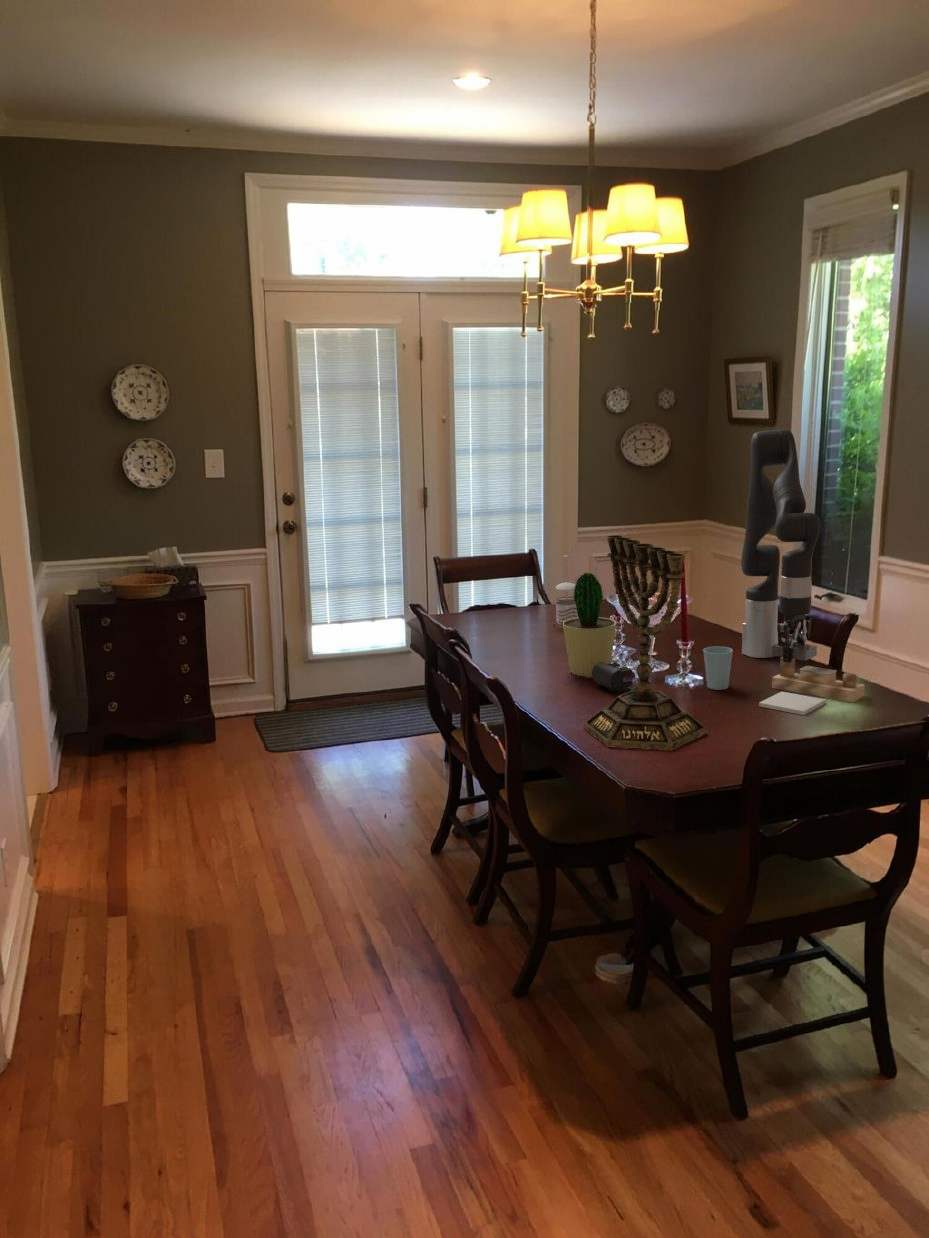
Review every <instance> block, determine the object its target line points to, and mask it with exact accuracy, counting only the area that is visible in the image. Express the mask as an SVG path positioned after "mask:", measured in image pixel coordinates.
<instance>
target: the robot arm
mask: <svg viewBox="0 0 929 1238" xmlns="http://www.w3.org/2000/svg"><path fill="white" fill-rule="evenodd" d="M797 451H798V450H797V443H796V440H795V437H794V434H793V432H792V431H791V430H790V429H785V428H784V429H783V428H782V429H780V428H779V429H774V430H772V429H770V430H761V431H757V432H755V433H753V434H752V437H751V440H750V459H749V460H750V461H749V462H750V463H749V465H750V466H749V467H750V470H749V471H750V472H749V473H750V474H749V485H748V496H747V502H746V516H745V534H744V541H743V547H742V551H741V560H740V563H741V565H740V566H741V572H742V573H743V574H744V575H745V576H747V577H766V578H765V580H763V581H762V582H760V583H759V584H756V585H753V586H750V587H748V588H747V589H746V591H745V620H744V622H743V623H742V625H741V626H742V630H741V631H742V632H741V633H742V634H741V635H742V636H741V637H742V639H741V640H742V642H741V643H742V644H741V654H742V655H745V656H748V657H751V658H755V659H756V658H759V659H766V658H774V657H775V656H773V655H772V645H775V644H777V643H778V646H782V647H783V661H784V662H788V663H790V662H792V654H793V648H792V647H793V643H794V642H798V643H801V644H806V643H807V639H810V637H811V631H812V630H811V627H812V618H813V617H812V614H810V613H811V612H812V594H813V592H812V591H813V585H812V561H813V555H814V550H815V547H816V545H817V544H816V543H817V542H818V539H819V535H820V532H821V520H820V518H819V516H818V514H816V513H814V512H805V511H806V508H807V503H806V499H805V495H804V492H803V489H802V486H801V485H802V484H801V480H800V471H799V460H798V454H797V453H798V452H797ZM780 465H784V467H783V469H782V470H781V472H780V474H779V475H778V477H777V478H776V480H775V482H774V483H773V482H772V481H771V480H770V478H769V477H768V476H767V473H766V472H765V470H764V467H766V466H767V467H768V466H769V467H770V466H780ZM773 528H774V533H775V534H774V535H775V537H776V539H778V540H779V541H781V542H782V543H795V542H796V543H800V542H801V545H800V546H799V547H798V548H796V549H792V550H788V551H786V552H784V553H783V554H782V556H781V553H780V548H779V546H777V545H775V544H759V543H760V542H761V540H762V539H763V538H764V537H765V536H766V535H767V534H769V532H771V530H772V529H773ZM780 565H781V567H780ZM780 569H781V572H780ZM780 573H781V574H780ZM779 577H780V583H779ZM778 608H779V609H778ZM778 611H779V612H780V613H782V614H783V615H784V619H783V622H782V623H780V622H779V623H778V617H779V616H778V615H779V614H778V613H779V612H778ZM789 641H790V643H789Z"/></svg>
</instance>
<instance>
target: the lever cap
mask: <svg viewBox="0 0 929 1238" xmlns="http://www.w3.org/2000/svg"><path fill="white" fill-rule="evenodd" d="M789 643H790V640H789ZM792 648H793V654H792V659H795V660H799V661H808V660H810V659H812V658H814V657H816V656H817V650H818V646H817V645H815V644H814V645H813V644H807V643H805V644H801V643H798V642H796V641H794V643H793V647H792ZM772 655H773V656H774V657H780V658H781V657H783V647H782V646H778V642H777V644H775V645H772Z"/></svg>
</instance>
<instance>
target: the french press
mask: <svg viewBox="0 0 929 1238" xmlns="http://www.w3.org/2000/svg"><path fill="white" fill-rule="evenodd" d="M562 558H563V559H564V560H565V573H566V575H565V577H566V581H565V582H562V583H558V584H557V585H556V586H555V587H554V588H555V590H557V591H562V592H563V591H564V592H565V591H566V592H569V591H574V589H575V588H574V587H575V585H576V584H575V585H574V582H569V581H568V571H567V570H568V569H567V568H568V567H567V560H568V559H569V558H570V557H569V555H567V554H565V555H563V557H562ZM573 586H574V587H573ZM572 589H573V590H572ZM571 599H574V596H573V597H572V596H568V595H565V596H558V597H557V598H556V600H557V601H556V602H555V611H556V612H555V620H556V622H557V623H558V624H561V623H559V621H560V622H564V621H566V620H569V619H574V618H579V617H578V615H577V613H576V611H577V609H576V603H574V600H571ZM574 610H575V611H574ZM575 614H576V615H575ZM562 619H565V620H562ZM556 622H555V623H556Z"/></svg>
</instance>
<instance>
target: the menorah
mask: <svg viewBox="0 0 929 1238" xmlns="http://www.w3.org/2000/svg"><path fill="white" fill-rule="evenodd" d="M606 539H607V540H606V541H607V543H608V546H609V550H610V552H608V553H607V555H606V556H607V557H610V563H611V564H612V566H611V568H612V573H613V575H612V576H613V578H614V579H613V583H612V584H613V586H614V588H615V590H616V591H615V592H616V594H617V598H618V603H619V606H620V607H621V608H622V611H623V613H624V614H625V617H626V619H627V621H628V622H629V623H630V624H631V625H632V627H633V628H634V629H635V630H637V631H639V632H640V633H638V636H637V640H638V642H639V644H638V648H637V650H638V653H639V654H638V657H637V658H638V662H639V664H638V665H637V666H636V669H635V672H636V675H637V676H638V678H639V680H638V682H637V683H635V686H634V687H633V689H631V691H630V692H624V693H621V694H620V695H618V696H616V697H615V698H614V700H613V701H612V702H611V704H610V705H608V706H606V707H603V708H601V709H600V710H599V711H597V712H596V713H595V714H594V715H592V716H590V717H589V718H588V719H587V720H585V722H583V728H584V727H585V728H586V729H587V730H588V731H589V732H591V733H592V734H593V735H595V736H596V737H597V738H598V739H599V740H600V741H603V742H604V743H605V744H606V745H607V746H615V747H627V748H626V749H628V748H645V749H644V750H649V749H658V750H657V751H674V750H676V749H678V748H681V747H683V746H684V745H686V743H687V744H689V743H691V742H693V741H694V740H697V739H699V738H701V737H703V736H705V735H707V732H708V731H707V727H706V726H705V725H703V724H702V723H701V722H700V721H699V720H697V718H695V717H694V716H693V715H692V714H690V713H689V712H688V711H686V710H685V709H683V708H681V707H680V706H678V705H677V703H676V702H675V701H674V700H673V699H672V697H670V696H668V695H667V694H665V693H664V692H661V691H660V690H655V687H654V685H653V684H652V683H651V681H650V680H649V679H650V678H651V675H652V674H653V672H652V671H653V669H652V666H651V665H650V664H649V662H650V659H651V658H650V655H649V652H650V649H651V647H650V645H649V643H650V638H651V637H650V636H655V635H659V634H661V633H662V632H663V631H665V629H666V628H667V627H669V626H670V625H671V623H672V619H673V618H674V615H675V612H676V611H677V609H678V608H679V603H678V601H679V596H680V590H681V588H680V586H681V584H682V579H683V578H686V574H685V573H684V572H682V570H683V567H684V563H685V559H686V554H685V553H676V551H675V550H666V547H661V546H660V547H657V546H655V545H654V543H641V541H640V540H639V539H632V538H630V537H624V536H623V535H619V534H618V535H617V534H616V535H614V534H613V535H608V536H607V537H606ZM637 567H638V572H639V573H640V575H639V576H640V578H639V576H638V575H637V571H636V568H637ZM648 571H650V574H651V577H652V578H651V582H650V583H648V578H647V577H648ZM660 579H661V587H660V586H659V584H660ZM670 584H671V589H670V588H669V587H670ZM632 588H633V589H632ZM669 589H670V591H671V592H670V597H669V600H668V594H669V592H668V591H669ZM633 590H634V592H633ZM659 590H660V592H659V594H658V595H657V596H656V602H655V603H654V604H653V606H651V607H650V608H649V606H650V599H651V598H653V597H654V595H655V594H656V593H657V592H658V591H659ZM635 593H636V595H638V596H639V598H637V597H636V596H635ZM629 604H630V605H631V606H632V608H634V609H635V610H636V612H637V613H639V616H638V617H636V614H635V613H634V612H633V611H632V609H631V607H630V605H629ZM665 604H666V608H667V609H666V610H665V612H664V615H662V616H661V618H660V621H659V623H657V624H655V625H653V626H649V625H650V623H651V619H650V616H654V615H657V614H659V613H660V611H661V610H662V609H663V607H664V605H665ZM587 730H586V731H587ZM588 731H587V732H588ZM589 732H588V733H589ZM592 734H591V735H592ZM593 735H592V736H593ZM598 739H597V740H598ZM599 740H598V741H599ZM600 741H599V742H600ZM690 741H691V742H690ZM688 742H689V743H688Z"/></svg>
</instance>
